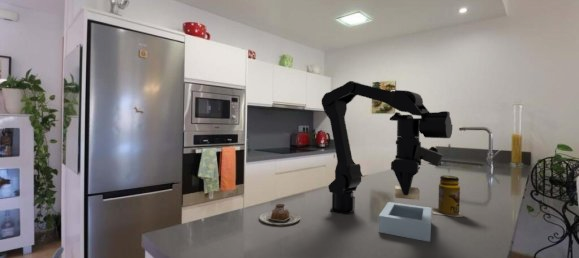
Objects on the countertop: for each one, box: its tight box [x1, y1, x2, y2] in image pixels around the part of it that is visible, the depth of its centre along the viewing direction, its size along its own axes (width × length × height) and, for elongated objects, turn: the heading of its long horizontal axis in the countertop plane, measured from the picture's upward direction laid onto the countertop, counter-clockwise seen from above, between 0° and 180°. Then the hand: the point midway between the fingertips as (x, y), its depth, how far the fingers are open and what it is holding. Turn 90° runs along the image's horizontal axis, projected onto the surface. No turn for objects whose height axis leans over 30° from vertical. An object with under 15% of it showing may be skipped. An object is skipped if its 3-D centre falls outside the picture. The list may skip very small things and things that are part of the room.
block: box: [394, 185, 421, 201], centre depth 76 cm, size 6×4×2 cm, turn 71°
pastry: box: [259, 203, 301, 227], centre depth 81 cm, size 12×12×5 cm
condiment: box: [429, 175, 464, 218], centre depth 91 cm, size 7×8×12 cm
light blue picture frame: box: [378, 201, 432, 243], centre depth 76 cm, size 12×16×4 cm
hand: (406, 193), depth 76 cm, fingers closed on block, 4 cm apart
